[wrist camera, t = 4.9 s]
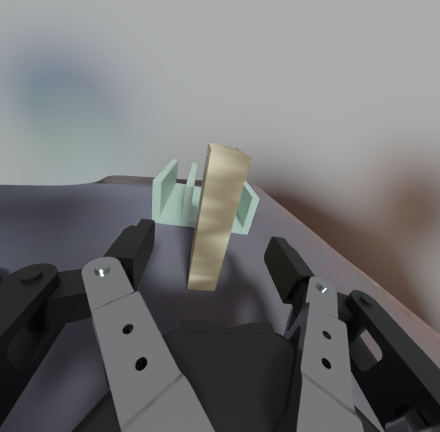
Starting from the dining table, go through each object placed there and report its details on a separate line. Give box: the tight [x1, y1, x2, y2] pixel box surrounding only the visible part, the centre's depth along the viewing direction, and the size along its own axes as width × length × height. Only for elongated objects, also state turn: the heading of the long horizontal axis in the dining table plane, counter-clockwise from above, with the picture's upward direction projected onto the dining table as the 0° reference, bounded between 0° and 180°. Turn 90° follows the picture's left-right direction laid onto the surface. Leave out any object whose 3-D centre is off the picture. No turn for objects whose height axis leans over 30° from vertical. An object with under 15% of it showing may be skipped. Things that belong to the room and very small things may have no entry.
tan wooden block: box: [187, 142, 251, 291], centre depth 15 cm, size 2×5×12 cm, turn 5°
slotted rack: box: [152, 159, 259, 235], centre depth 30 cm, size 14×16×6 cm
